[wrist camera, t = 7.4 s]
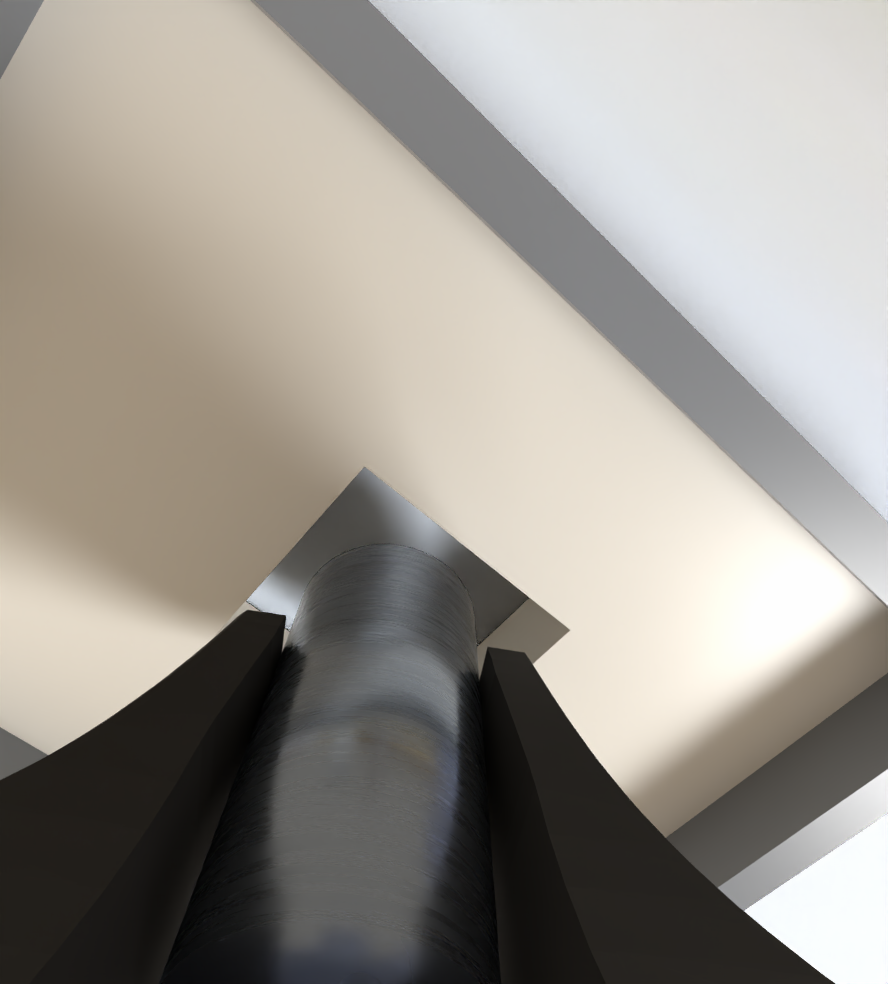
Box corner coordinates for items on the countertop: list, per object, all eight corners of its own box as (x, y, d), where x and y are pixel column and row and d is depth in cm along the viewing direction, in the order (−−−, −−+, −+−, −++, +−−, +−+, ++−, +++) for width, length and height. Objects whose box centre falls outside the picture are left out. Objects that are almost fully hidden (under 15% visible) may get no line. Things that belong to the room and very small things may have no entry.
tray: (158, -167, 10) (15, -355, 6) (919, 584, 14) (1061, 696, 11) (-230, 524, 14) (-440, 622, 10) (458, 941, 18) (461, 1101, 15)
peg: (309, 530, 12) (149, 900, 6) (490, 559, 12) (541, 948, 6) (290, 681, 13) (142, 1131, 7) (457, 705, 13) (468, 1166, 7)
